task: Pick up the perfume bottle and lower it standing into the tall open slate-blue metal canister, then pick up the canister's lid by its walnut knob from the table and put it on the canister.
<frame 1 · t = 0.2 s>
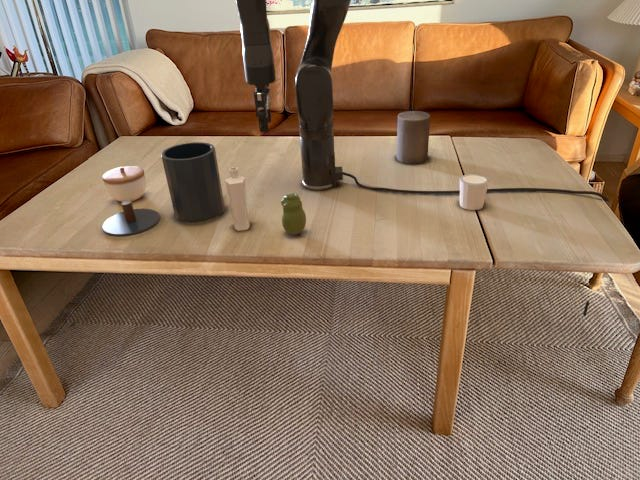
hand: (265, 126, 127), 17 cm above the table, tool pointing down, fingers open, 8 cm apart
white cylinder: (471, 205, 120), on the table
lid: (131, 222, 119), point 1 cm above the table
canister: (200, 212, 123), on the table
pillar candle: (411, 159, 149), on the table
perfume bottle: (241, 227, 116), on the table
green figurine: (294, 233, 112), on the table
trinket box: (130, 199, 133), on the table
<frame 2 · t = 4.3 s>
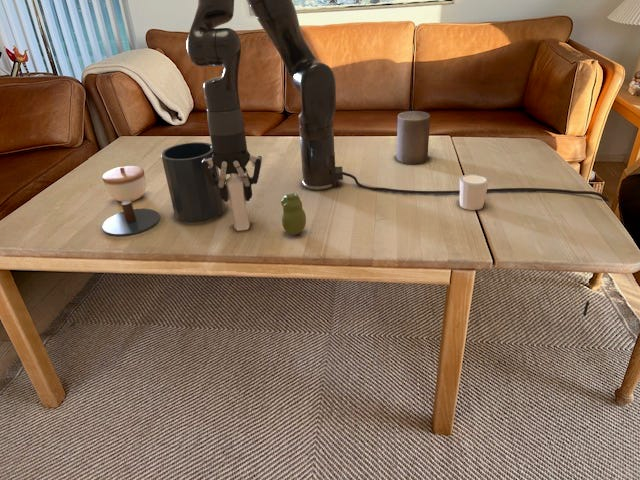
hand: (237, 199, 112), 7 cm above the table, tool pointing down, fingers closed on perfume bottle, 4 cm apart
perfume bottle: (241, 228, 116), on the table, touching gripper
everything else where it was.
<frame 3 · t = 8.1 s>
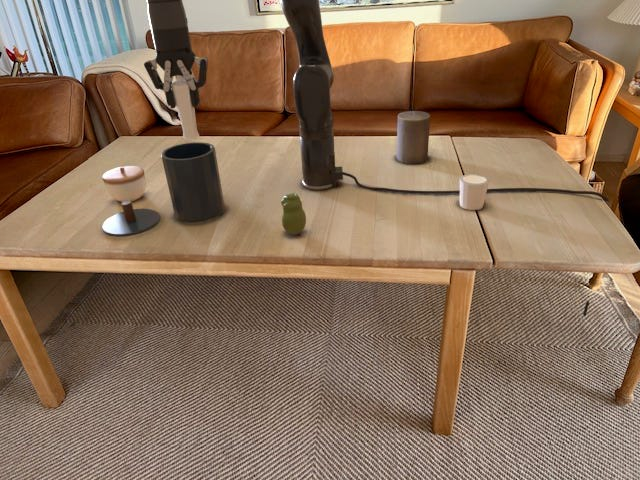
hand: (184, 106, 109), 28 cm above the table, tool pointing down, fingers closed on perfume bottle, 4 cm apart
perfume bottle: (190, 138, 112), point 20 cm above the table, touching gripper
everything else where it was.
when the fingers open (14 cm above the table, at t = 11.9 s): perfume bottle drops 5 cm, resting on canister.
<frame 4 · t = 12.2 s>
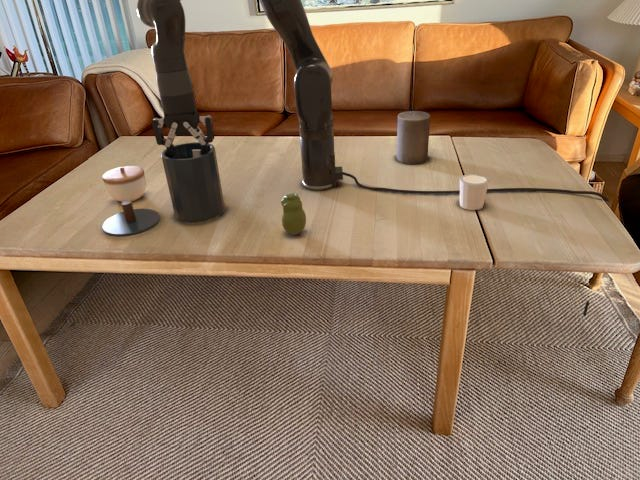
hand: (189, 159, 116), 15 cm above the table, tool pointing down, fingers open, 7 cm apart
perfume bottle: (200, 209, 123), point 1 cm above the table, touching canister
everything else where it was.
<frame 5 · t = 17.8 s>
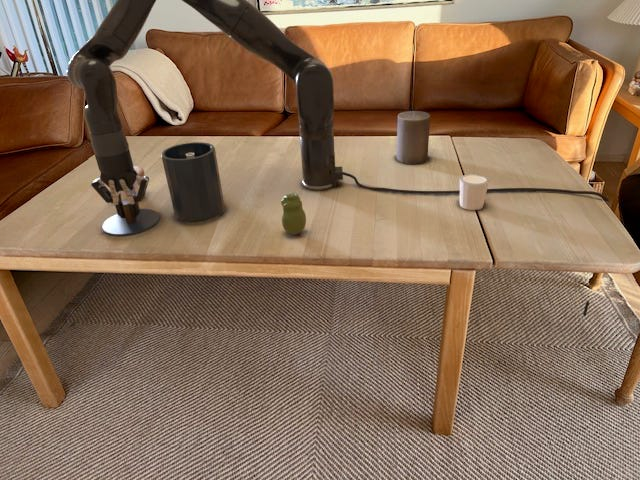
hand: (130, 216, 118), 2 cm above the table, tool pointing down, fingers closed on lid, 2 cm apart
lid: (131, 222, 119), point 1 cm above the table, touching gripper
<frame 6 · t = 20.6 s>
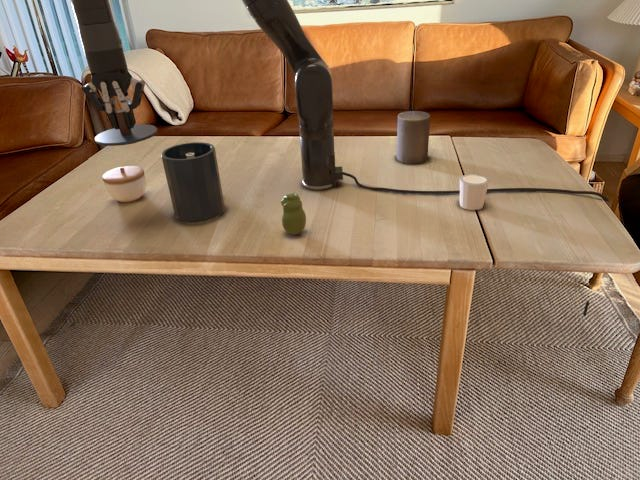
hand: (125, 127, 108), 24 cm above the table, tool pointing down, fingers closed on lid, 2 cm apart
lid: (127, 135, 109), point 22 cm above the table, touching gripper
when the fingers open (19 cm above the table, at t = 23.5 s): lid stays where it is, resting on canister.
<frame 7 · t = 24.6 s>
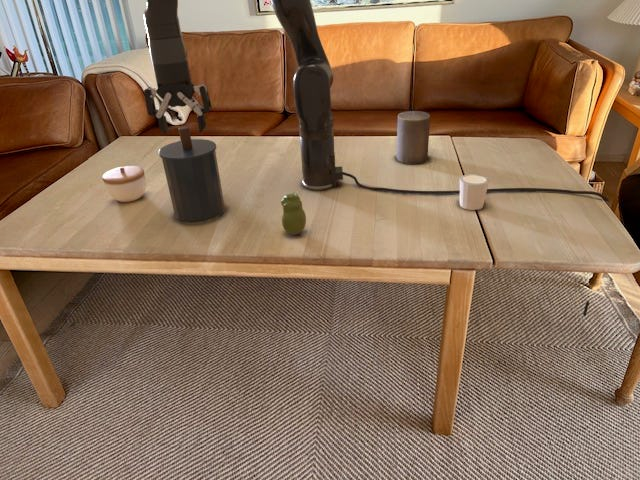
hand: (184, 131, 113), 22 cm above the table, tool pointing down, fingers open, 8 cm apart
lid: (188, 150, 115), point 17 cm above the table, touching canister
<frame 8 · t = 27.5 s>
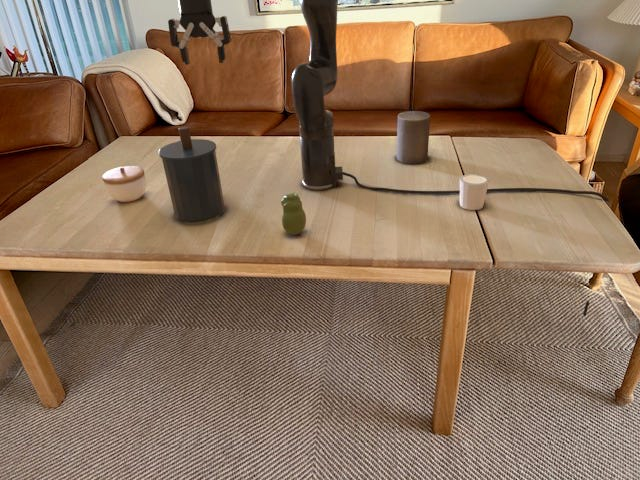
hand: (204, 63, 119), 34 cm above the table, tool pointing down, fingers open, 8 cm apart
at the end: perfume bottle inside the target area in the canister (0.2 cm from its centre), point 0.6 cm above the canister's base; lid 0.1 cm off-centre on the canister, point 16.8 cm above the canister's base; lid tilted 0° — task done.
